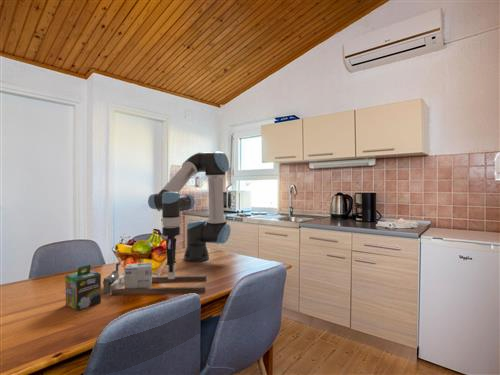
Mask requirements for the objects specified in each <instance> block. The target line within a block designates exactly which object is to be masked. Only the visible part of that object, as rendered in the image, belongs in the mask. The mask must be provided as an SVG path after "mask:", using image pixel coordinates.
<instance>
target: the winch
mask: <svg viewBox="0 0 500 375" xmlns="http://www.w3.org/2000/svg"><path fill="white" fill-rule="evenodd" d="M120 265H121V262H117V263H116V264H115V270H112V273H110V274H109V275H108V276H107V277H105V278H103V281H102V285H103V294H109V293H110V285H111V284H113V283H114V282H115V281H116V280H117V279H118V278H119V277H120V274H119V266H120Z"/></svg>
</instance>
